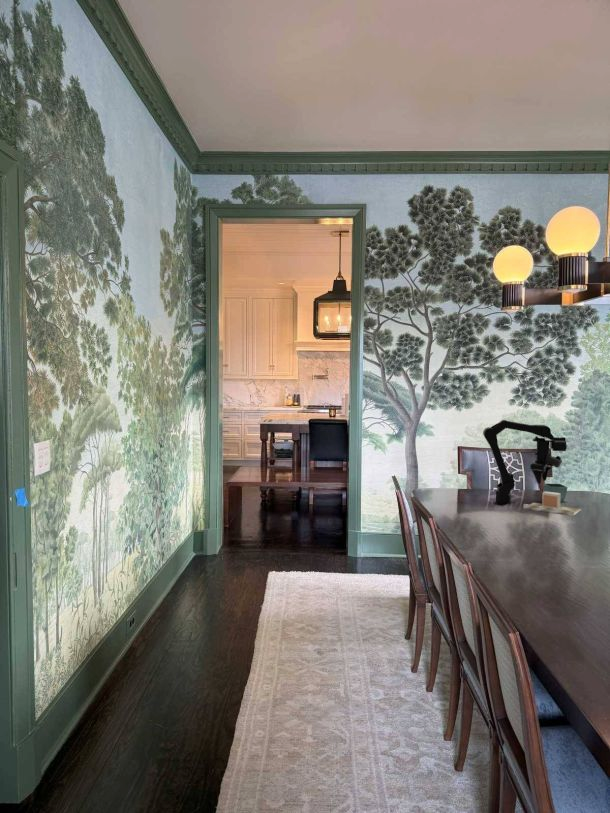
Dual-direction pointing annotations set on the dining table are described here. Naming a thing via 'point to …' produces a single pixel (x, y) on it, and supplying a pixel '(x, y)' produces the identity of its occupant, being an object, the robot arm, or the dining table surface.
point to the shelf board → (551, 509)
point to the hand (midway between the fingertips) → (541, 482)
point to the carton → (551, 500)
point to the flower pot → (556, 489)
